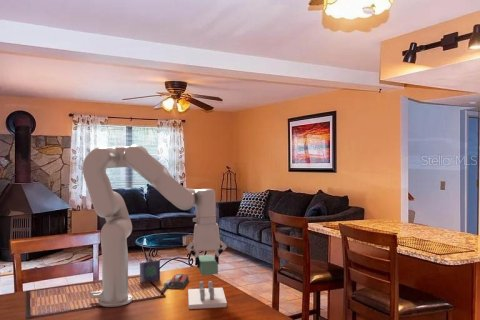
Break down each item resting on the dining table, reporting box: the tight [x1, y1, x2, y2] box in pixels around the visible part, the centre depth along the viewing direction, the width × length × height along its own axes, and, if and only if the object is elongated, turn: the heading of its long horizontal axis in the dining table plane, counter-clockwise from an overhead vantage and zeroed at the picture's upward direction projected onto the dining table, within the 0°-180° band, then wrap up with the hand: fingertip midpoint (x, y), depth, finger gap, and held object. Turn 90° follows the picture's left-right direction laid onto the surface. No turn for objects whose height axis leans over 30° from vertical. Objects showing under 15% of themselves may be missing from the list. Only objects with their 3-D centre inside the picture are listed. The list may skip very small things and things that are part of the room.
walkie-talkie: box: [160, 273, 189, 293], centre depth 178 cm, size 9×4×20 cm
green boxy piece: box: [198, 254, 219, 276], centre depth 161 cm, size 6×14×4 cm, turn 14°
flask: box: [139, 256, 161, 284], centre depth 186 cm, size 9×3×11 cm, turn 122°
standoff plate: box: [187, 280, 228, 310], centre depth 161 cm, size 14×18×6 cm
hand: (207, 266), depth 161 cm, fingers closed on green boxy piece, 6 cm apart
